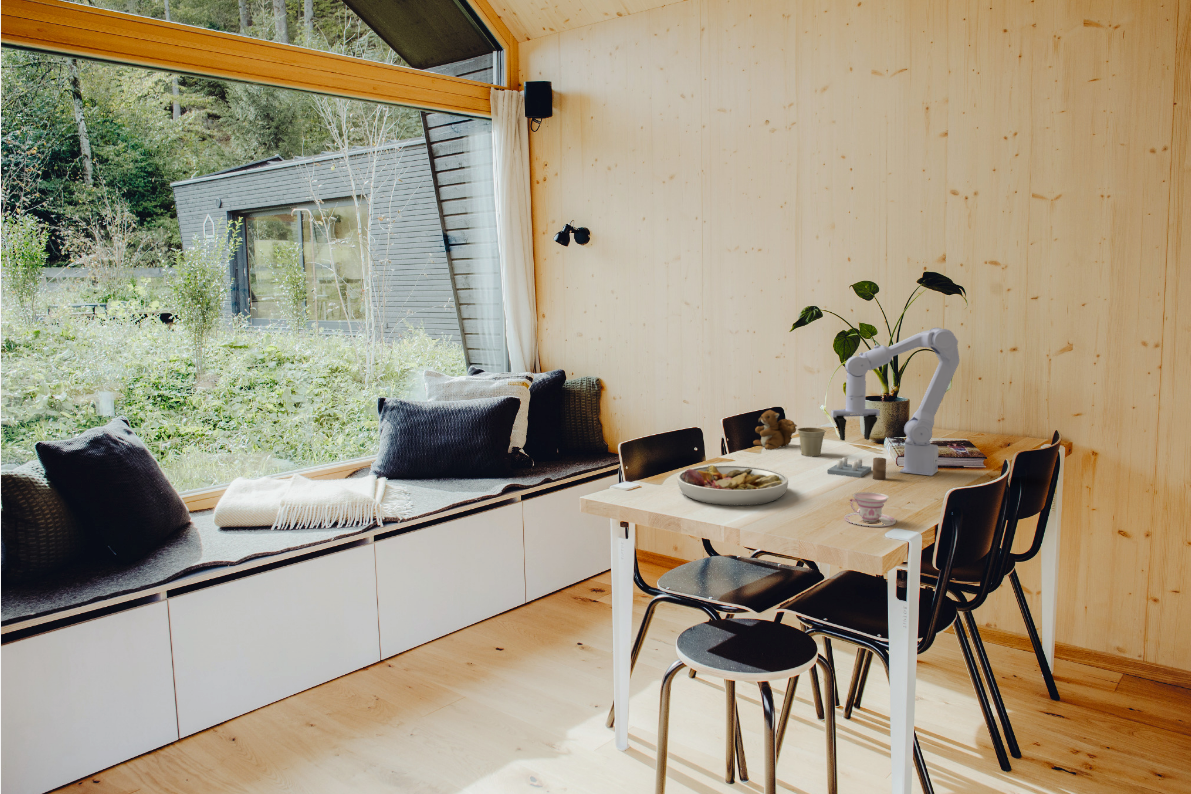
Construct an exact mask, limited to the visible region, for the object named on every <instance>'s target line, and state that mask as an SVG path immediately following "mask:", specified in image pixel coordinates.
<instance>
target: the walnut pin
mask: <svg viewBox="0 0 1191 794" xmlns="http://www.w3.org/2000/svg"><path fill="white" fill-rule="evenodd" d="M886 472H887V458H885V457H873V460H872V480H875V481H885V480H886V479H887V478H886V474H887V473H886Z"/></svg>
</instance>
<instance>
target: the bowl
mask: <svg viewBox="0 0 1191 794" xmlns="http://www.w3.org/2000/svg"><path fill="white" fill-rule="evenodd" d="M677 485H678V487H679V489H680V491H681V492H682V493H683V495H686V496H687V497H688V498H691V499H692V500H695V501H698V502H701V503H705V502H706V504H711V503H712V504H713V505H718V504H721V506H722V505H723V506H733V505H743V506H756V504H757V505H763V504H767V503H771V502H773V501H776V500H778V499H779V498H781V497H782V496H784V494H785V493H786V491H787V490H788V486H789V478H788V476H786V475H785V474H783V473H781V472H778V471H775V470H772V469H768V468H761V467H755V466H747V465H746V466H745V465H713V464H711V465H707V466H700V467H694V468H689V469H687V470H683V471H681V472H679V474H678V475H677ZM712 504H711V505H712Z"/></svg>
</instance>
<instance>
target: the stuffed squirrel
mask: <svg viewBox="0 0 1191 794" xmlns="http://www.w3.org/2000/svg"><path fill="white" fill-rule="evenodd" d="M779 416H780V413H779V412H776V411H774V410H772V409H769V410H766V411H764V412H763V413H762V414H761V416H760V417H759V418H758V422H761V423H762V424H764V425H761V426H756V427H755V430H754V431H755V433H756V434H759V435H760V436H761V438H760V439H755V440H753V442H752V443H753V445H754V446H761V447H762V446H763V447H764V449H765V450H777V449H780V448H781V447H783V446H784V447H786V446H788V445H790V444H791V441H792V438H793V437H792V436H793V434H794V433H796V432H797V428H796V427H797V424H795V422H794V421H793V420H791V419H788V418H784V419H780V420H779V421H778V418H779ZM780 446H781V447H780Z"/></svg>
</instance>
